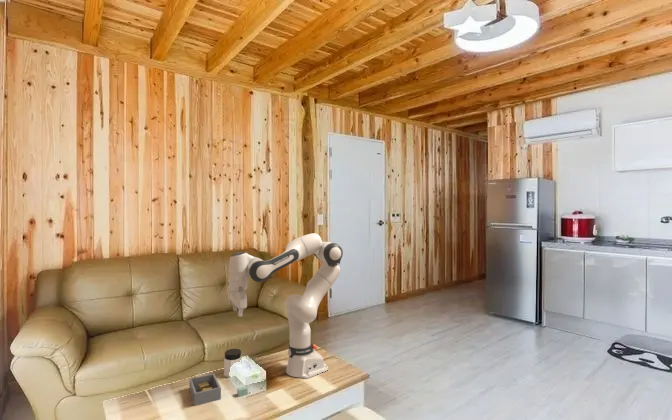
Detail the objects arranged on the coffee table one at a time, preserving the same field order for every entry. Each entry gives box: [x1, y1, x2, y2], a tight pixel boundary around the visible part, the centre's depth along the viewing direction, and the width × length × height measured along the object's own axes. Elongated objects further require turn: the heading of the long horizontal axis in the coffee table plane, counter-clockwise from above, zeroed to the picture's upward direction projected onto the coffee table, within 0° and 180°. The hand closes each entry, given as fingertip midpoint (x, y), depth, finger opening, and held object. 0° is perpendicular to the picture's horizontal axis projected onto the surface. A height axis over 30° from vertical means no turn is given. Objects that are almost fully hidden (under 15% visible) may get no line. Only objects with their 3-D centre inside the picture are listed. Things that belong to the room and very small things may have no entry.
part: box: [198, 382, 209, 392], centre depth 164 cm, size 4×4×3 cm
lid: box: [236, 386, 248, 398], centre depth 167 cm, size 12×16×4 cm
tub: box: [188, 373, 222, 407], centre depth 161 cm, size 11×15×6 cm
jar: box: [223, 348, 242, 378], centre depth 181 cm, size 9×8×12 cm
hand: (237, 313), depth 174 cm, fingers open, 8 cm apart
